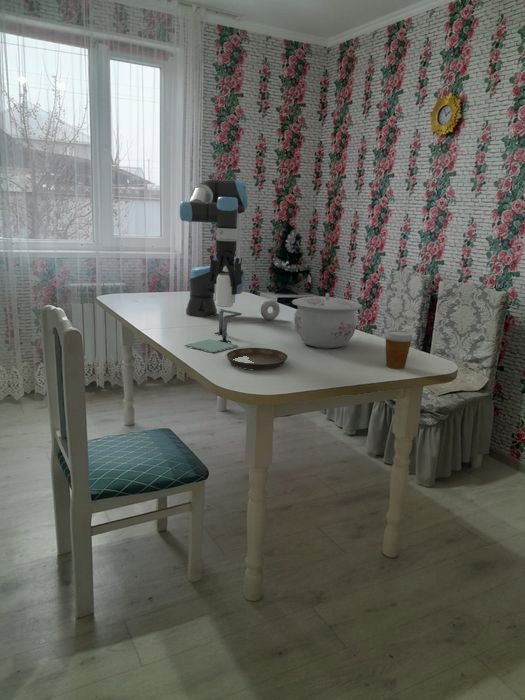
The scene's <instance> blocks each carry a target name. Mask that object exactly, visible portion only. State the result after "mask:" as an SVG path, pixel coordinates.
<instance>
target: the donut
mask: <svg viewBox="0 0 525 700" xmlns="http://www.w3.org/2000/svg"><path fill="white" fill-rule="evenodd" d="M270 307H271V308H272V311H271V312H270V313H269V311H268V310H269V308H270ZM280 307H281V306H280V304H279V303H278V302H277V301H276V300H274V299H267V300H265V301H264V302H263V303H262V304H261V306H260V314H261V316H262V318H263V319H264V320H267V321H272V320H275V319H276V318H277V317H278V316H279V314H280V310H281V309H280Z"/></svg>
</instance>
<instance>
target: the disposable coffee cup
mask: <svg viewBox="0 0 525 700" xmlns="http://www.w3.org/2000/svg"><path fill="white" fill-rule="evenodd" d="M384 338H385V366H386V367H387V368H390V369H393V370H395V369H396V370H403V369H405V367H406V363H407V360H408V355H409V351H410V347H411V344H412V341H413V339H414V337H413V333H411V332H410V331H406V330H400V329H399V330H398V329H392V330H389V329H388V330H387V331H385V334H384Z"/></svg>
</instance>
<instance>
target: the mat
mask: <svg viewBox="0 0 525 700" xmlns="http://www.w3.org/2000/svg"><path fill="white" fill-rule="evenodd" d="M185 346H187V347H186V348H189V347H192V348H191V349H193V348H196V349H195V350H197V349H201V350H206V351H211V352H216V351H220V350H224V349H228V348H231V347H235V346H237V347H238V344H233V343H225V342H220V341H219V340H215V339H210V338H208V339H204V340H199V341H196V342H192V343H188V344H184V347H185ZM235 348H236V347H235ZM231 349H232V348H231ZM201 350H200V351H201ZM228 350H229V349H228ZM206 351H205V352H206ZM224 351H225V350H224ZM220 352H221V351H220Z"/></svg>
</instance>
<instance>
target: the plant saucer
mask: <svg viewBox="0 0 525 700" xmlns="http://www.w3.org/2000/svg"><path fill="white" fill-rule="evenodd" d="M225 356H226V358H227V360H228V361H229V362H230V363H231V364H232V365H233V366H234V365H235V367H236V366H238V367H237V368H239V367H241V368H240V369H242V368H246V369H245V370H248V369H253V370H252V371H269V370H270V369H271V370H276V369H278V368H280V367H281V366H282V365H283V364H285V362H286V361H287V359H288V354H286V353H285V352H283V351H282V350H281V351H280V350H278V349H277V350H276V349H272V348H267V347H266V348H265V347H244V348H243V347H242V348H236V349H232V350H230V351H228V352H227V353H226V355H225ZM243 356H247V357H249V359H248V360H250V361H252V362H254V363H244V362H238V361H235V360H233V359H235V358H238V357H243ZM271 370H270V371H271Z"/></svg>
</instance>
